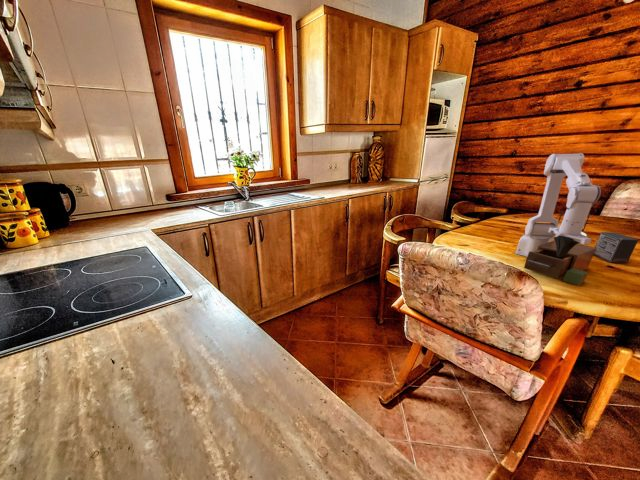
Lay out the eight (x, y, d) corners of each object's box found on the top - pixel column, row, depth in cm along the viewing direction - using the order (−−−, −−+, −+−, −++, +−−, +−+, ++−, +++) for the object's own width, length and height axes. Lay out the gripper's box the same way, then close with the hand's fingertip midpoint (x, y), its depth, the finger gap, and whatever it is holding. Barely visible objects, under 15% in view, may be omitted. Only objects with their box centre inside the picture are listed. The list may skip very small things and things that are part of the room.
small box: (629, 263, 116) (640, 239, 111) (610, 262, 117) (620, 239, 113) (607, 254, 125) (617, 231, 121) (590, 253, 126) (599, 231, 122)
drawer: (551, 281, 104) (558, 263, 101) (517, 270, 113) (522, 253, 110) (575, 270, 110) (582, 253, 107) (541, 261, 120) (547, 245, 117)
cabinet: (569, 276, 108) (577, 255, 104) (531, 265, 118) (538, 245, 115) (587, 268, 113) (596, 247, 110) (550, 258, 124) (557, 239, 120)
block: (562, 281, 105) (566, 270, 103) (568, 278, 107) (572, 268, 105) (577, 285, 102) (582, 275, 100) (583, 282, 103) (588, 272, 101)
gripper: (545, 216, 105) (534, 249, 110) (581, 227, 92) (566, 264, 97) (564, 215, 105) (552, 248, 110) (603, 226, 91) (587, 263, 97)
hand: (560, 256), depth 104 cm, fingers closed
